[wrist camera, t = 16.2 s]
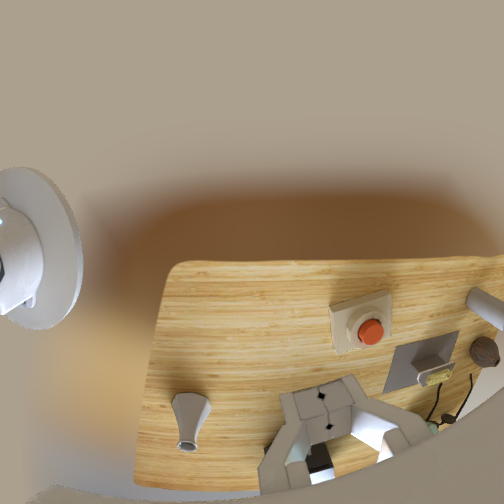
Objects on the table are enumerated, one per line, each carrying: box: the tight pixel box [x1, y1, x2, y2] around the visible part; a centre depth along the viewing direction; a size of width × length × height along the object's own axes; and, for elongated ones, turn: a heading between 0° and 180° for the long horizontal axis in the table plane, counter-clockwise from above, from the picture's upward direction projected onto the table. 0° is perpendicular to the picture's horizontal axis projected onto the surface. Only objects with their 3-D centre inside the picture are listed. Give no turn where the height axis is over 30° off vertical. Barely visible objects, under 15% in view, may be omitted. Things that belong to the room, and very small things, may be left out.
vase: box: [471, 337, 500, 368], centre depth 45 cm, size 7×7×9 cm
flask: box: [172, 392, 212, 452], centre depth 40 cm, size 7×7×10 cm
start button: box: [358, 319, 384, 345], centre depth 38 cm, size 4×4×2 cm
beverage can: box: [466, 288, 504, 331], centre depth 39 cm, size 5×5×12 cm
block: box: [329, 289, 392, 355], centre depth 41 cm, size 10×8×4 cm
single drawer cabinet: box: [264, 442, 334, 484], centre depth 46 cm, size 15×13×10 cm
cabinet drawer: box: [266, 442, 330, 471], centre depth 45 cm, size 18×11×8 cm, turn 13°
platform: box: [382, 331, 459, 394], centre depth 44 cm, size 12×18×7 cm, turn 91°
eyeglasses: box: [426, 374, 473, 429], centre depth 50 cm, size 15×15×5 cm
